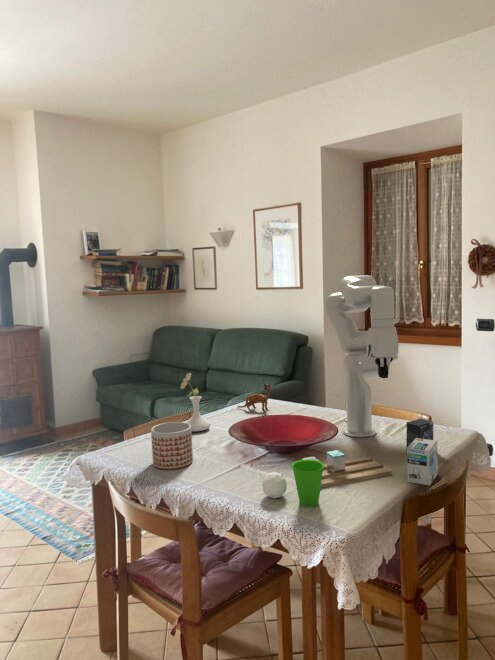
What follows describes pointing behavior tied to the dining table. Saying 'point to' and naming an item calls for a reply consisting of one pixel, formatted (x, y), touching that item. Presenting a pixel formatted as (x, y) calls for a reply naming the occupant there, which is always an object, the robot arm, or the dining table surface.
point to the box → (419, 430)
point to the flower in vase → (195, 409)
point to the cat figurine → (258, 399)
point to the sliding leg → (335, 461)
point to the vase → (172, 445)
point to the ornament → (274, 485)
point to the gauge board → (353, 471)
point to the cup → (308, 481)
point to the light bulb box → (422, 461)
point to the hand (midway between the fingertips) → (383, 377)
